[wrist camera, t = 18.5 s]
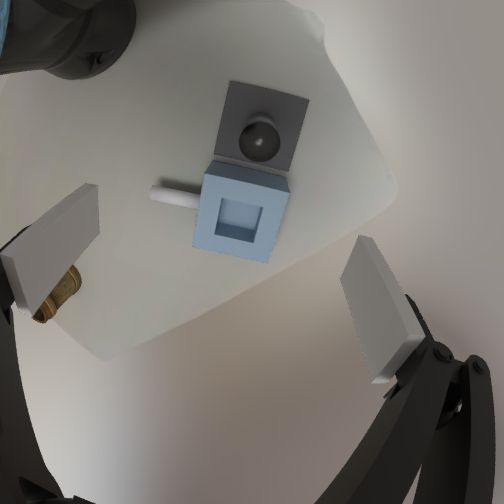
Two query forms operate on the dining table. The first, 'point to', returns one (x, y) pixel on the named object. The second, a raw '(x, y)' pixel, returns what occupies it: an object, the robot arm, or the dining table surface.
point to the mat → (267, 101)
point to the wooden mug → (58, 295)
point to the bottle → (259, 138)
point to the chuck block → (233, 210)
